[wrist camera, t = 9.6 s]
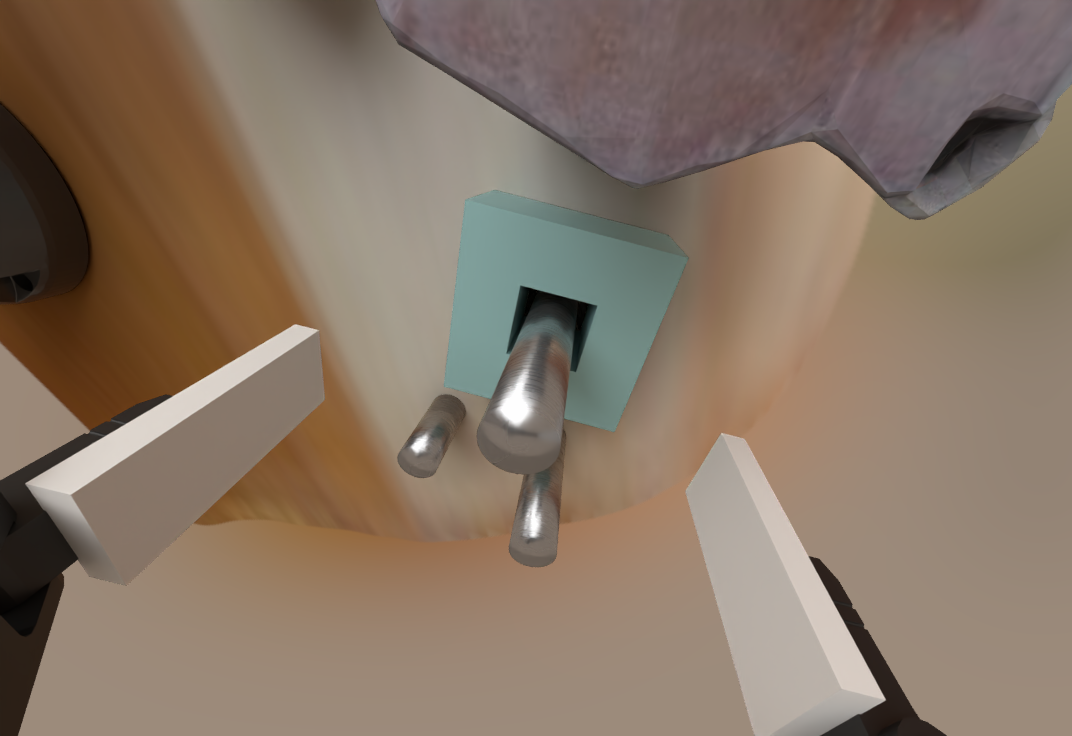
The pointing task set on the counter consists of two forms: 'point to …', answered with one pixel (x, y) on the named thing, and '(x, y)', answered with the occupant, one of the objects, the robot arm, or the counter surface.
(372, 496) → the counter surface
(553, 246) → the teal square nut
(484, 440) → the pin long
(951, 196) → the moka pot
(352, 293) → the counter surface
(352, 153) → the counter surface
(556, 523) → the pin medium
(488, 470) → the counter surface
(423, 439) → the pin short
